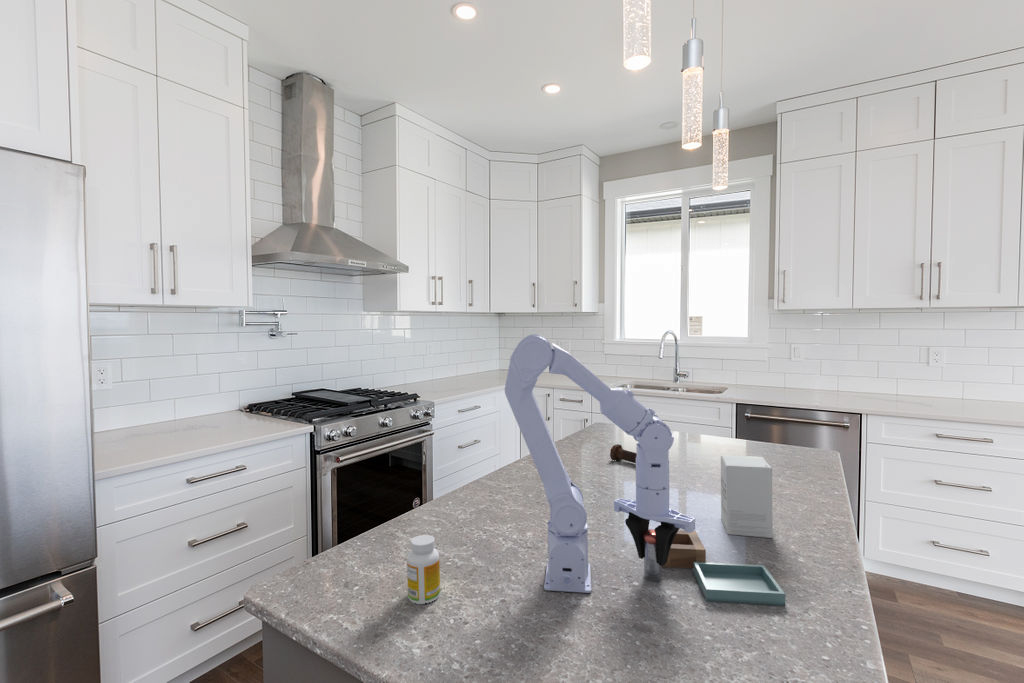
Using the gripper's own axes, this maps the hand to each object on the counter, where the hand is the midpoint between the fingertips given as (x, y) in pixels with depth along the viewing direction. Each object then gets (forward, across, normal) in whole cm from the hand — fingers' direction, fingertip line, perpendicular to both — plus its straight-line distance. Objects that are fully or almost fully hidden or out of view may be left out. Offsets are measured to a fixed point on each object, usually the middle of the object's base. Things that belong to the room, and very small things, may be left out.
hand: (652, 559), depth 86 cm
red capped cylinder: (+3, 0, 0) cm, 3 cm away
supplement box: (+3, -6, -32) cm, 33 cm away
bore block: (+3, 0, -10) cm, 11 cm away
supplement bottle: (+3, +26, +31) cm, 40 cm away
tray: (+3, -12, -6) cm, 14 cm away
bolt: (+4, +36, -58) cm, 69 cm away
